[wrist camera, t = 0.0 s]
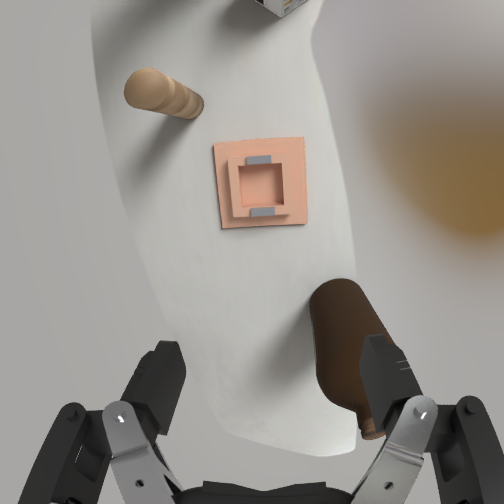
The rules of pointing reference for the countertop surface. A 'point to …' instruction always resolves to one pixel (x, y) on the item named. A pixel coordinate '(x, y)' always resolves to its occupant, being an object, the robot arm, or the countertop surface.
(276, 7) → the container
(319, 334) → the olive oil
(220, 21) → the countertop surface
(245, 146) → the clip base
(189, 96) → the tall wooden cylinder
